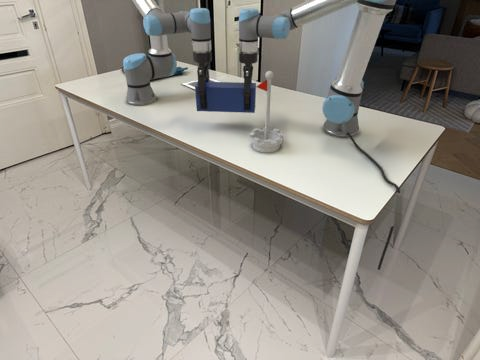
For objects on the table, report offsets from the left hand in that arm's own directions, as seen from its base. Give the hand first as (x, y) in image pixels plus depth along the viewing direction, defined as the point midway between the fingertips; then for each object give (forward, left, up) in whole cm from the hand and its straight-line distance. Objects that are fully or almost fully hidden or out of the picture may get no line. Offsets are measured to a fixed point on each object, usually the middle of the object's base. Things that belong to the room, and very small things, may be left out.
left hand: (205, 105), depth 150 cm
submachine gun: (-82, +38, -10) cm, 91 cm away
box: (+8, +6, -1) cm, 9 cm away
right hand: (+15, +11, 0) cm, 19 cm away
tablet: (-37, +40, -10) cm, 56 cm away
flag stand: (+33, +1, -10) cm, 35 cm away
